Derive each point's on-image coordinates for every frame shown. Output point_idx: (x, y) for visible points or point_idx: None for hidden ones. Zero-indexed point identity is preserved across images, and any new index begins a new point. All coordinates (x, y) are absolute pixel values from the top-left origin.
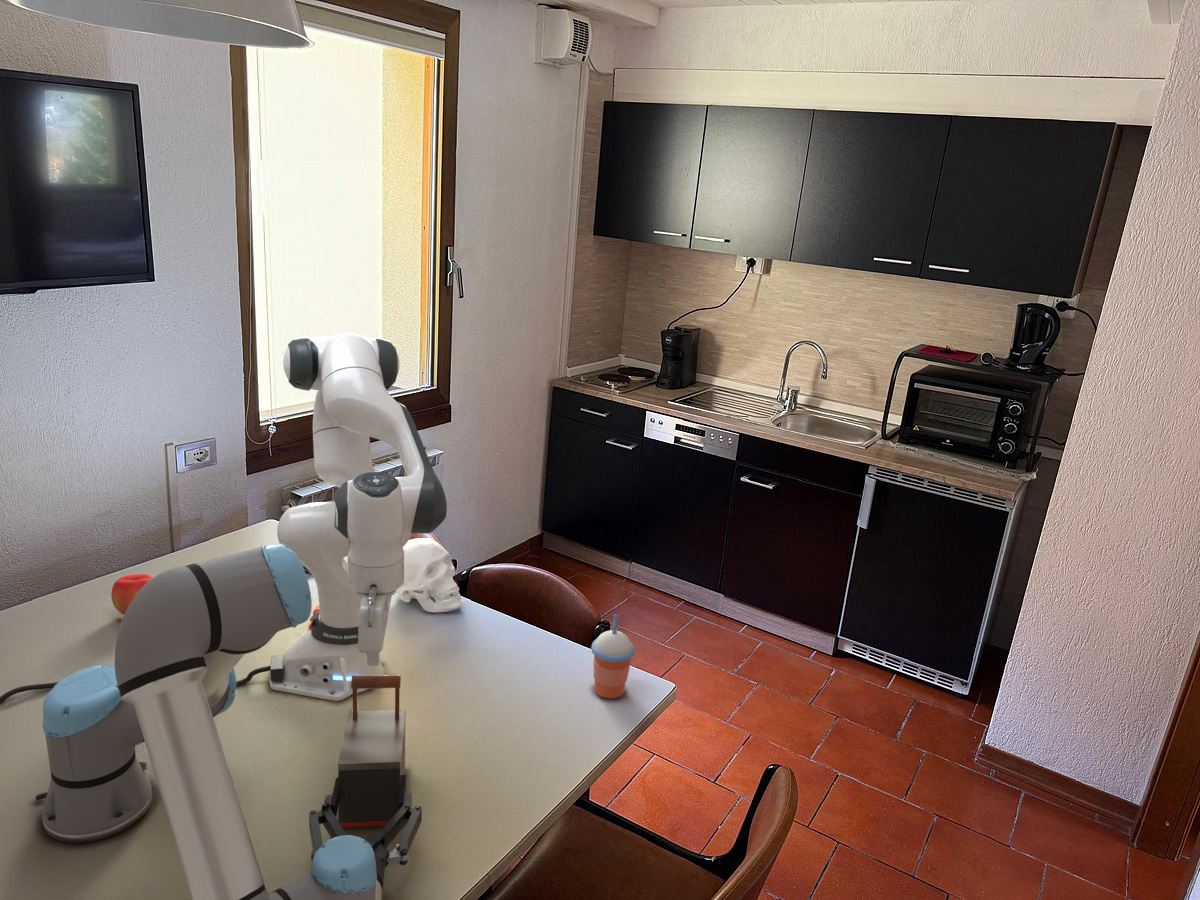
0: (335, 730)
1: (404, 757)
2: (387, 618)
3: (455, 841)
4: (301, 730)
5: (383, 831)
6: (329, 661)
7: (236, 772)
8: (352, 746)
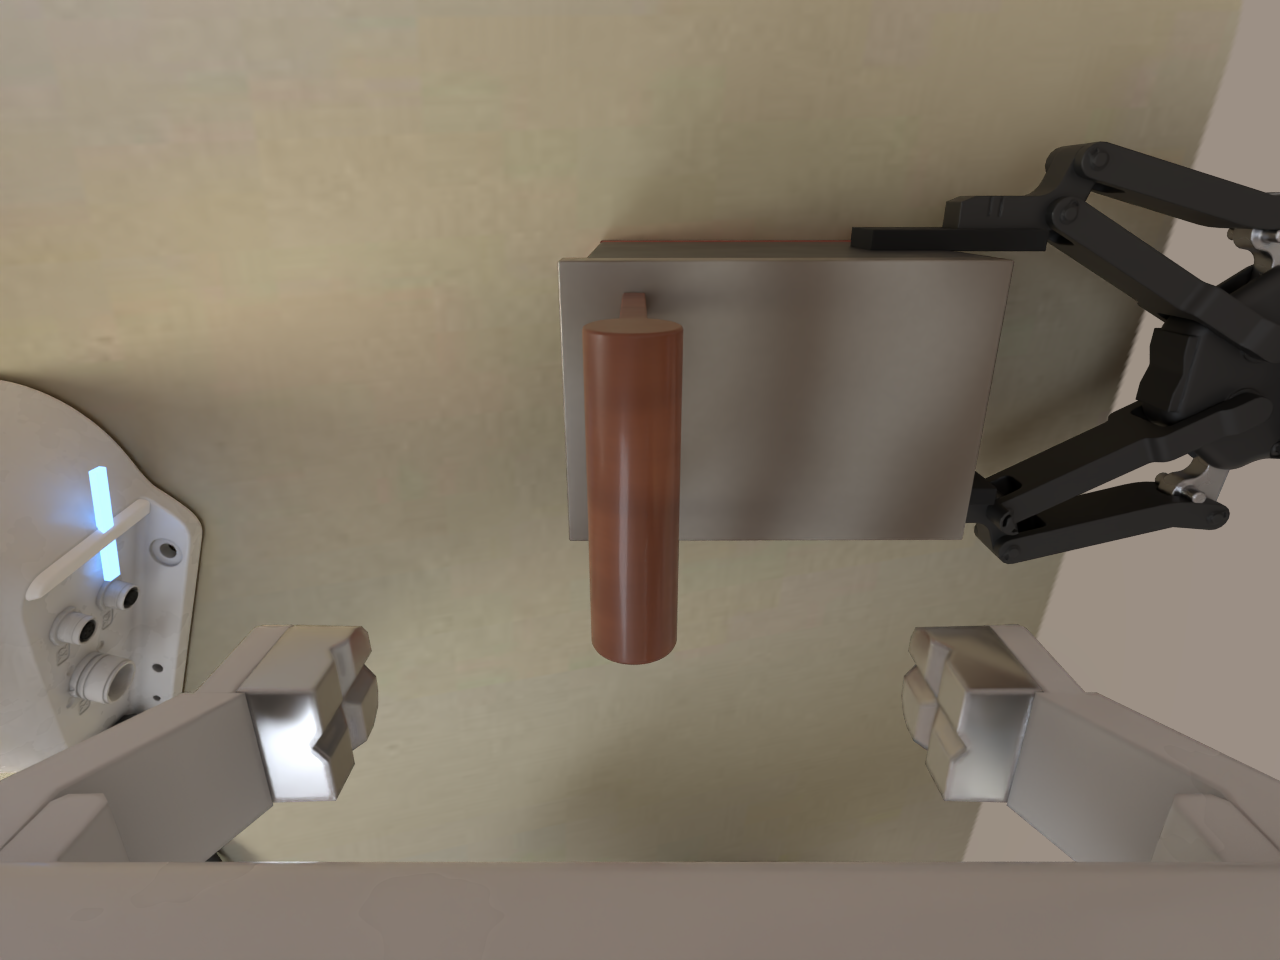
0: (372, 507)
1: (634, 245)
2: (662, 955)
3: (1008, 15)
4: (383, 606)
5: (1213, 299)
6: (51, 627)
7: (588, 729)
8: (847, 496)
